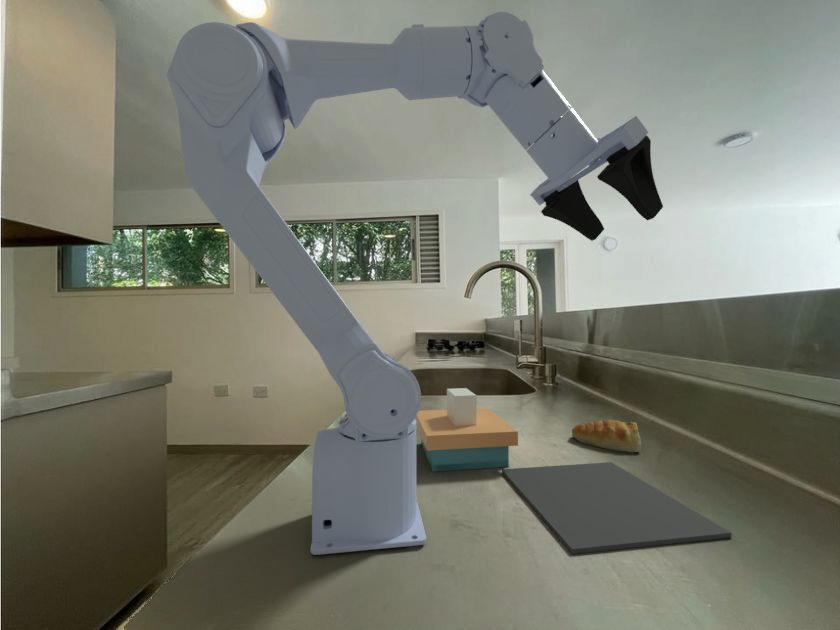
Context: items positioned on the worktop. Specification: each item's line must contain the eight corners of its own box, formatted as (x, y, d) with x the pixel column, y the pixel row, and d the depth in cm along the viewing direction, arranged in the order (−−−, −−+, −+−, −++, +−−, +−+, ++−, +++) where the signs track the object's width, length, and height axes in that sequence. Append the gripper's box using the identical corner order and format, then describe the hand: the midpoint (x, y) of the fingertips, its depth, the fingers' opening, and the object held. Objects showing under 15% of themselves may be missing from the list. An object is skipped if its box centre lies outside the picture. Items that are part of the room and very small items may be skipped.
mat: (572, 554, 27) (572, 549, 27) (501, 472, 42) (501, 469, 42) (731, 537, 30) (731, 532, 30) (611, 465, 44) (611, 462, 44)
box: (432, 471, 43) (432, 439, 43) (421, 443, 53) (421, 417, 53) (508, 466, 44) (508, 435, 44) (483, 440, 54) (483, 414, 54)
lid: (426, 450, 42) (426, 403, 42) (414, 422, 53) (414, 385, 53) (517, 445, 43) (517, 399, 43) (486, 419, 55) (486, 383, 55)
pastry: (572, 446, 52) (571, 421, 52) (571, 433, 58) (571, 411, 58) (644, 456, 48) (644, 429, 48) (636, 441, 54) (635, 417, 54)
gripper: (625, 57, 30) (710, 174, 32) (531, 145, 44) (594, 223, 46) (580, 100, 29) (673, 221, 31) (497, 178, 43) (564, 257, 45)
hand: (624, 225), depth 38 cm, fingers open, 7 cm apart
